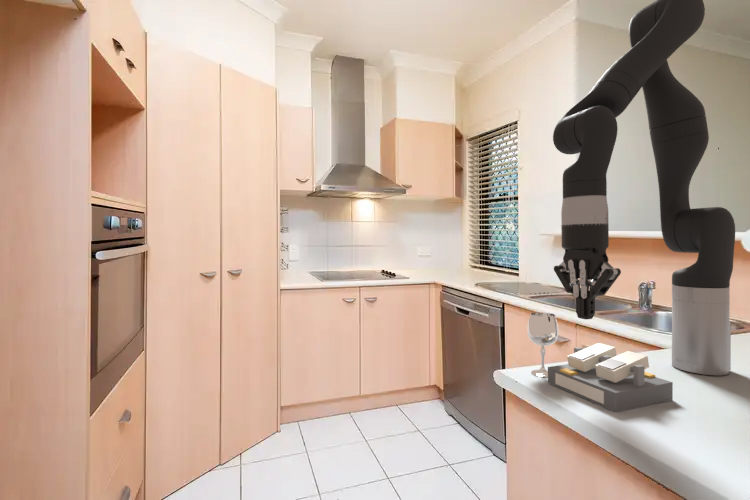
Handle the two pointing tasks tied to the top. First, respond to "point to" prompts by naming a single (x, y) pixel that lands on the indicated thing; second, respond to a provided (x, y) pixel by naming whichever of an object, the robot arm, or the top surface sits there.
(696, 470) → the top surface
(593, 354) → the block
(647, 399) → the switch unit
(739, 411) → the top surface
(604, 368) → the rocker far
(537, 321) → the wineglass
